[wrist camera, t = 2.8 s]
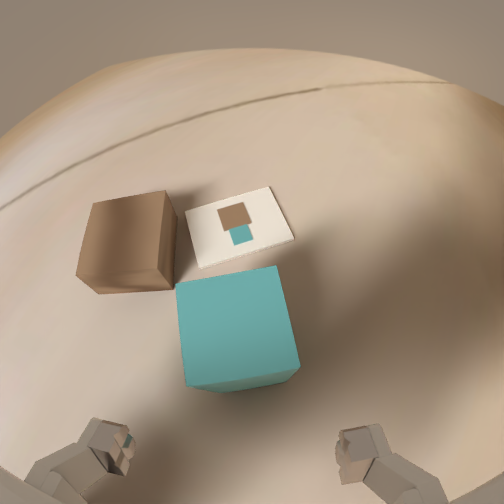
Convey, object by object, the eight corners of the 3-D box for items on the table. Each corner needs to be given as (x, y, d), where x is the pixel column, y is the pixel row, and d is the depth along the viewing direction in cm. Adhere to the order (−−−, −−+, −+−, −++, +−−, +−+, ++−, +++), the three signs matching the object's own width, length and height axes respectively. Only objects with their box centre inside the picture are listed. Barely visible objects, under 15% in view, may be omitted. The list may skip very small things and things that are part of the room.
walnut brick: (177, 219, 26) (165, 190, 22) (173, 290, 22) (156, 268, 19) (111, 228, 26) (93, 203, 22) (100, 295, 22) (75, 275, 19)
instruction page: (268, 188, 26) (268, 185, 26) (293, 240, 24) (294, 237, 23) (185, 213, 26) (184, 210, 25) (199, 269, 23) (198, 267, 22)
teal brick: (273, 321, 20) (276, 265, 13) (286, 381, 18) (300, 367, 10) (211, 332, 20) (175, 283, 12) (221, 393, 18) (186, 386, 10)
